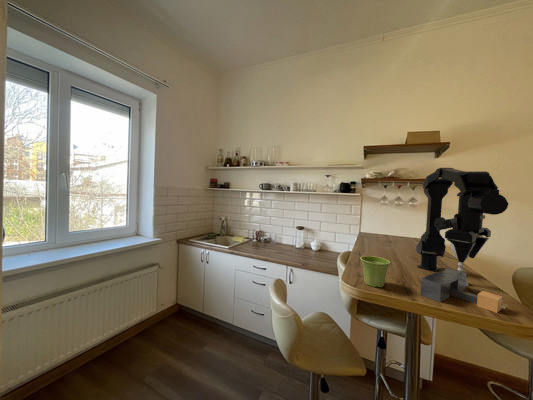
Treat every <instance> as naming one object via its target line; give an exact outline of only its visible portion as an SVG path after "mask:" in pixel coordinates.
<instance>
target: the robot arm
mask: <svg viewBox="0 0 533 400" xmlns="http://www.w3.org/2000/svg"><path fill="white" fill-rule="evenodd" d="M452 185H453V186H454V187H455V188H457V189H458V190H459V192H457V194H456V197H458V205H457V206H458V208H457V213H455V214H454V215H453V218H447V219H446V218H445V217H443V216H442V210H443V209H442V205H443V199H444V198H445V196H446V195H448V192H449V189H450V188H451V187H452ZM422 188H423V193H424V195H425V196H426V198H427V209H426V210H427V211H426V223H425V224H426V225H425V231H424V232H423V234H421V236H420V240H419V242H418V244H417V245H416V247H415V251H416V253H417V254H418V255H420V264H417V266H416V267H417V268H421V269H424V270H428V271H432V272H436V271H437V272H438V271H440V270H441V267H438V257H442V258H443V257H444V255H445V252H446V250H447V249H446V240H447V241H448V242H450V244H451V243H452V244H453V245H454V247H455V250H456V254H457V257H458V263H459V262H462V263H463V264H464V263H465V261H467V259H468V258H470V259H475V258H476V256H477V255H478V253H479V252H480V251H481V249H482V248H483V246H484V245H485V244H486V243H487V242H488V240H489V238H490V237H492V236H491V235H492V231H491V230H490V229H489V228H488V227H483V221H484V220H485V219H486V215H491V216H493V215H495V216H496V215H500V214H502V213H504V212H506V210H507V209H508V207H509V202H508V200H507V197H505V196H503V194H500V189H499V187H498V186H497V184H496V183H495V181H494V179H493V177H492V176H491V174H490V173H489V171H482V170H481V171H466V170H465V171H464V170H460V169H456V168H453V167H439V168H436V170H435V171H434V172H432V173H430V174H428V175H427V176H426V177H425V179H424V181H423V182H422ZM485 214H486V215H485ZM442 230H446V231H444V237H443V236H442V234H441V231H442ZM468 255H469V257H468ZM467 257H468V258H467ZM466 258H467V259H466Z"/></svg>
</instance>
